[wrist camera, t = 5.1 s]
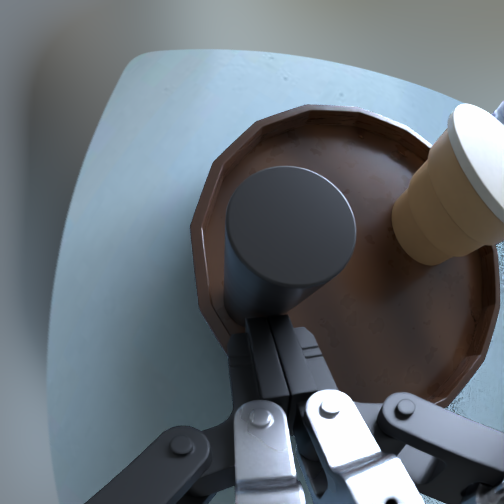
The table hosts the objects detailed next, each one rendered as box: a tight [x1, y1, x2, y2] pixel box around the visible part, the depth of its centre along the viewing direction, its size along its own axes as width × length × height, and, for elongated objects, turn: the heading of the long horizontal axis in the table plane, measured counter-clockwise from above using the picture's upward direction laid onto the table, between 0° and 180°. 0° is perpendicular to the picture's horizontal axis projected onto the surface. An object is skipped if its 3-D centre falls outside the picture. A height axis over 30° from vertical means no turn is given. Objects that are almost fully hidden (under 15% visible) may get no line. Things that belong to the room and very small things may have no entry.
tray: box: [190, 104, 500, 408], centre depth 13 cm, size 20×20×10 cm
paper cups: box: [392, 104, 504, 266], centre depth 14 cm, size 7×7×8 cm
